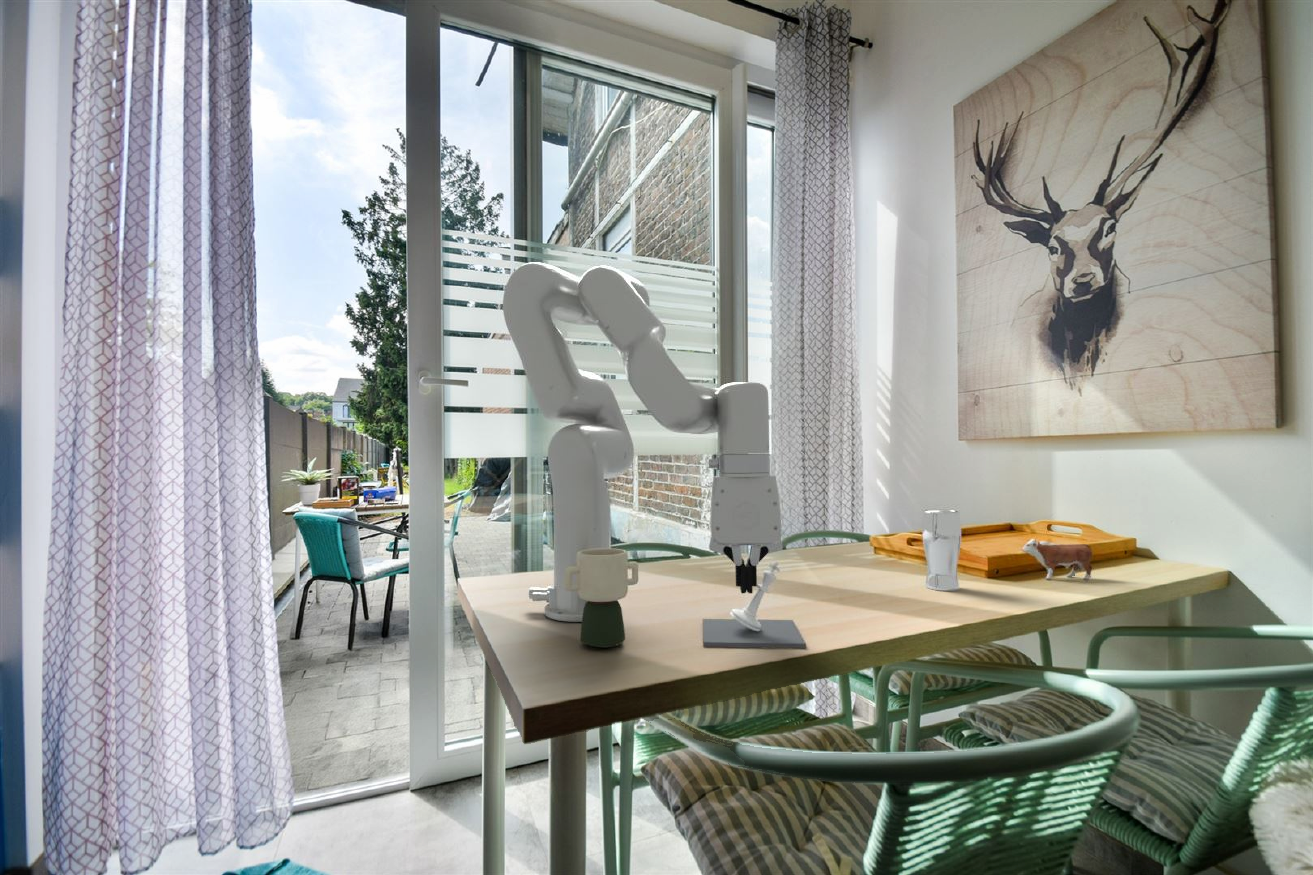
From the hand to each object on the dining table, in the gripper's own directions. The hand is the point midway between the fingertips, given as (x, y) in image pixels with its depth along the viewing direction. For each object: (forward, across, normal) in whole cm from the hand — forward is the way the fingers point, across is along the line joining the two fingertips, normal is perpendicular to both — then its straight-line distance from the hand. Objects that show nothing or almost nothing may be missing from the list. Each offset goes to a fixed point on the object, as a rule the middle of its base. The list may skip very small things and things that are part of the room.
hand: (746, 591), depth 91 cm
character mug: (+6, -20, -6) cm, 22 cm away
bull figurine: (+7, +68, +44) cm, 81 cm away
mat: (+6, 0, 0) cm, 6 cm away
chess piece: (+5, 0, 0) cm, 5 cm away
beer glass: (+7, +40, +33) cm, 53 cm away
